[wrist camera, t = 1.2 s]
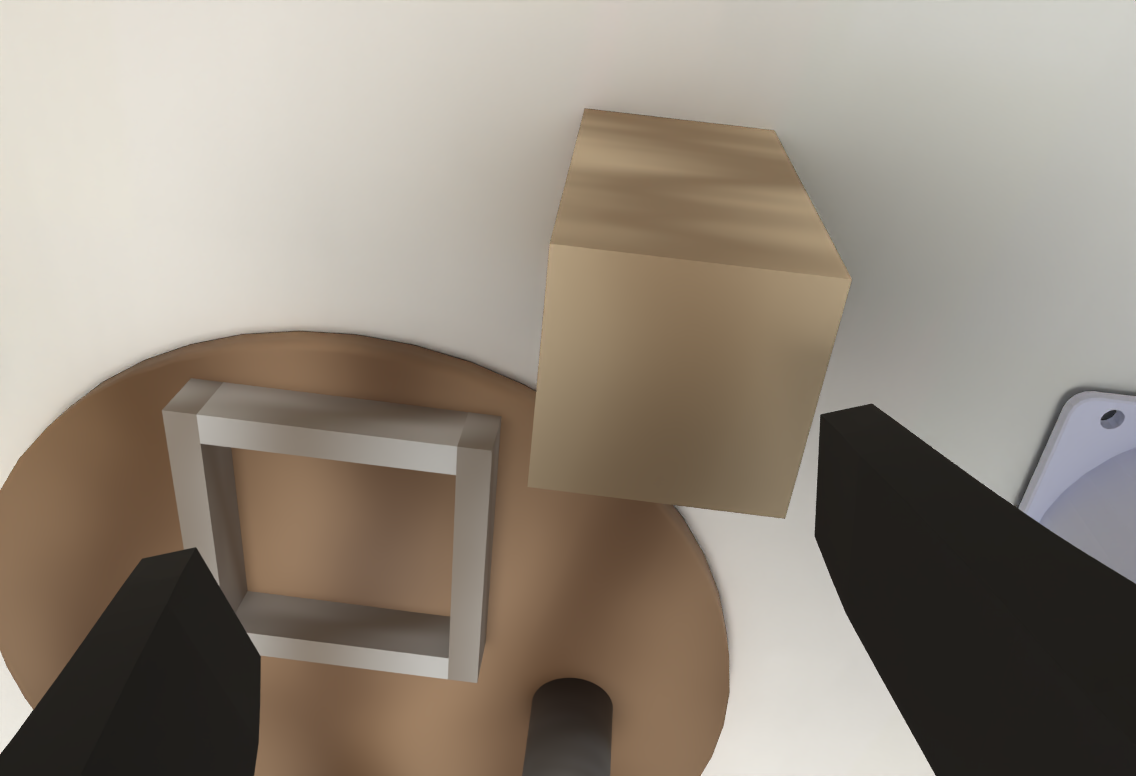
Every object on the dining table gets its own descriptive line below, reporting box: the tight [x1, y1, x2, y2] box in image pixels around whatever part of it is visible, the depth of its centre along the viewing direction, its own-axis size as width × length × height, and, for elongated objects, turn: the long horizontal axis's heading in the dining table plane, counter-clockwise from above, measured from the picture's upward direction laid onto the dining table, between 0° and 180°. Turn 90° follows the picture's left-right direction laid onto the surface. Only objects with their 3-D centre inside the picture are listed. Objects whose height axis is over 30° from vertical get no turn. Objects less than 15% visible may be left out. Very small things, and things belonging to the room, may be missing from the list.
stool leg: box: [528, 109, 852, 519], centre depth 16 cm, size 4×4×8 cm
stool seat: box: [0, 331, 729, 776], centre depth 25 cm, size 22×22×4 cm
